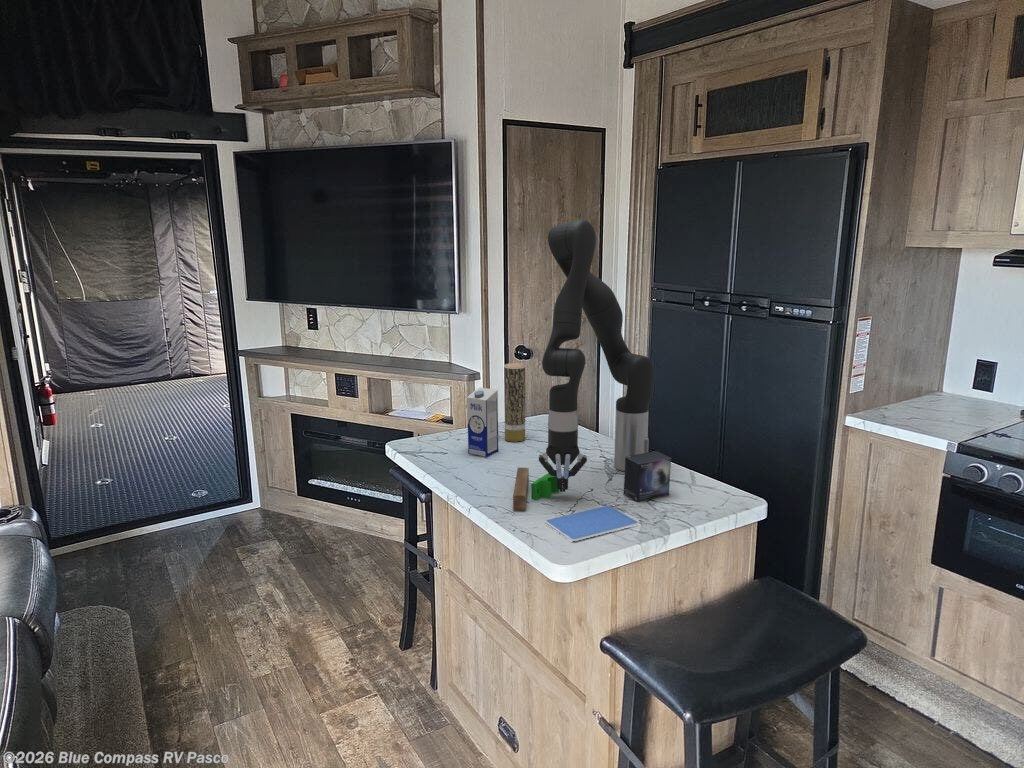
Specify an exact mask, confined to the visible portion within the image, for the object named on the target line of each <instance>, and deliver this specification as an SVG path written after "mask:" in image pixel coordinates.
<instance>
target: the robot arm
mask: <svg viewBox="0 0 1024 768" xmlns="http://www.w3.org/2000/svg"><path fill="white" fill-rule="evenodd" d="M596 236H597V235H596V231H595V229H594V226H593V225H592V223H591V222H590V221H589V220H586V219H576V220H572V221H568V222H563V223H560V224H557V225H554V226H552V227H551V228H550V229H549V231H548V233H547V243H548V246H549V250H550V252H551V254H552V256H553V258H554V260H555V261H556V263H557V264H558V266H559V267H560V269H561V271H562V272H563V275H564V276H565V277H566V280H565V282H564V284H563V285H562V287H561V290H560V291H559V293H558V295H557V297H556V299H555V302H554V308H553V316H552V317H553V318H552V327H551V332H550V337H549V340H548V343H547V346H546V348H545V351H544V353H543V356H542V360H541V366H542V370H543V372H544V373H545V375H547V376H550V377H561V378H562V377H564V378H567V377H568V378H569V381H568V382H566V383H561V384H556V385H553V386H551V387H550V389H549V393H548V394H549V395H548V397H549V399H548V404H549V406H548V407H549V408H548V417H547V418H548V419H547V447H546V449H545V452H544V453H543V454H538V462H539V463H540V464H541V465H542V467H543V468H544V469H545V470H546V472H547V473H549V474H550V475H551V476H555V477H557V489H558V490H559V493H564V492H565V493H566V491H567V490H568V489H569V478H570V477H576V475H577V474H578V473H579V471H580V470H581V469H582V468H583V467H584V466H585V464H586V463H588V458H587V457H588V456H587V455H585V454H582V453H581V452H580V448H579V447H578V441H579V437H578V436H579V415H578V393H579V386H580V383H581V378H582V376H583V372H584V369H585V367H586V356H585V354H584V352H583V351H582V350H581V349H578V348H566V347H565V348H564V347H562V348H560V347H561V345H562V344H563V343H565V342H569V341H574V340H576V339H578V338H579V337H580V336H581V329H582V328H581V327H582V325H581V324H582V317H583V313H584V315H585V317H586V319H587V320H588V322H589V324H590V326H591V329H592V330H593V332H594V334H595V336H596V338H597V341H598V343H599V345H600V347H601V349H602V352H603V355H604V357H605V360H606V362H607V366H608V368H609V372H610V375H611V376H612V378H613V379H614V380H615V381H616V382H617V383H619V384H621V385H623V386H626V393H625V396H622V397H619V398H617V399H616V402H615V424H614V425H615V427H614V429H615V430H614V457H613V461H614V463H613V466H614V468H615V469H617V470H618V471H622V472H625V457H626V456H631V455H637V454H642V453H648V452H649V436H648V434H649V433H648V432H649V429H648V428H649V409H650V404H651V401H652V397H653V392H654V391H653V389H654V380H655V379H654V378H655V369H654V368H655V367H654V363H653V362H652V359H651V358H649V357H648V356H646V355H645V356H644V355H641V354H638V353H636V354H635V353H632V352H631V351H630V350H629V347H628V346H627V344H626V342H625V340H624V337H623V333H622V331H623V330H622V329H623V319H624V317H623V311H622V308H621V306H620V303H619V302H618V301H619V300H618V299H617V297H616V295H615V293H614V291H613V289H612V288H610V286H608V284H606V283H605V282H604V281H603V280H602V279H600V278H599V277H598V276H596V275H595V274H594V273H593V272H591V268H592V267H591V266H592V263H593V260H594V256H595V249H596V243H597V241H596V239H597V237H596ZM549 459H550V460H551V462H552V463H553V464H554V465H555V467H556V469H555V468H554V467H553V466H552V465H551V463H549ZM575 460H577V461H576V462H575V464H574V465H573V466H572V467H571V469H570V465H572V464H573V462H574V461H575ZM562 466H563V471H562ZM562 472H563V474H562Z"/></svg>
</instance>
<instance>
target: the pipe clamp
mask: <svg viewBox="0 0 1024 768" xmlns="http://www.w3.org/2000/svg"><path fill="white" fill-rule="evenodd" d="M530 487H531V488H530V489H531V491H530V492H531V495H530V496H531V499H530V500H532V501H537V500H538V499H539V498H540V497H542V498H546V499H551V498H552V492H553V493H555V492H557V494H559V493H560V490H558V489H557V477H555V476H551V475H550V474H549V473H548V472H547V473H546V474H544V475H543V476H540V477H539V478H538V479H536V480H535V481H533V482H531V486H530Z"/></svg>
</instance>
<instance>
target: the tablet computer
mask: <svg viewBox="0 0 1024 768" xmlns="http://www.w3.org/2000/svg"><path fill="white" fill-rule="evenodd" d="M545 524H547V525H548V526H550V527H551V528H552V529H551V528H550V527H549V528H550V529H551V530H553V529H554V530H556V531H557V532H559V533H560V534H562V535H563V536H565V537H567V538H568V539H570V540H572V541H577V540H582V539H585V538H589V539H591V538H590V537H593V536H596V537H599V536H598V535H600V534H604V535H606V534H605V533H608V534H610V533H609V532H612V531H616V530H618V529H622V528H626V527H630V526H634V525H638V524H640V522H639V521H637V520H635V519H634V518H632V517H630V516H628V515H627V514H625V513H624V512H623V511H622V512H621V511H620V510H619V509H616V508H614V507H613V506H611V505H607V504H606V505H603V506H599V507H595V508H591V509H586V510H584V511H577V512H574V513H570V514H566V515H562V516H556V517H553V518H549V519H546V520H544V525H545ZM547 525H546V526H547ZM548 526H547V527H548ZM554 530H553V531H554ZM557 532H556V533H557ZM616 532H617V531H616ZM612 533H613V532H612ZM560 534H559V535H560ZM600 536H601V535H600ZM593 538H594V537H593ZM585 540H586V539H585ZM582 541H583V540H582Z"/></svg>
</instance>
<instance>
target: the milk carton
mask: <svg viewBox="0 0 1024 768" xmlns="http://www.w3.org/2000/svg"><path fill="white" fill-rule="evenodd" d="M498 391H499V390H498V389H494V388H486V387H480V386H479V387H478V388H476V389H474V391H473V392H472V393H470V394H469V395H467V397H466V399H467V401H466V402H467V405H466V406H467V408H466V409H467V447H468V448H467V449H468V455H473V456H477V457H482V458H486V457H487V458H489V457H490V455H491V456H493V455H495V454H497V453H499V403H498V402H499V395H498ZM496 452H497V453H496ZM494 453H495V454H494ZM492 454H493V455H492ZM488 456H489V457H488Z"/></svg>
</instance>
